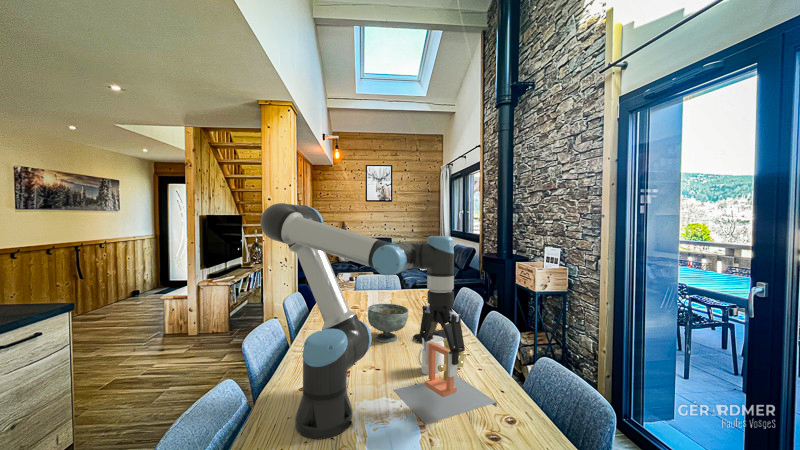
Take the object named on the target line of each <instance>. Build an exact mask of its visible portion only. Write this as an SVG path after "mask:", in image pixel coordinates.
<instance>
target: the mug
mask: <svg viewBox="0 0 800 450" xmlns="http://www.w3.org/2000/svg"><path fill="white" fill-rule="evenodd" d="M433 338H434V339H431V340H433V341H434V343H436V344H438V345H441V346H443V347H444V343H443V340H444V338H442V337H440V336H434V335H433ZM421 344H422V345H421V346H422V347H421V348H420V350H419V352H418V356H417V360H418V363H419V365H420V367H421V373H422V374H423V375H426V376H429V364H428V365H426V364H425V349H424V340H423V339H422V343H421ZM421 356H422V357H421ZM439 365H444V355H443V354H441V353H439V352H437V351H435V375H437V374H440V373H444V371H442V372H440V371H438V366H439Z"/></svg>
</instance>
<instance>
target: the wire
mask: <svg viewBox="0 0 800 450" xmlns="http://www.w3.org/2000/svg"><path fill="white" fill-rule="evenodd" d="M443 343H444V347H445V348H447V349H450V348H449V345H448V342H447V338H444V340H443ZM454 348H455V346H454ZM466 357H467V354H466V352H464V351H463V352H459V363H458V364H457V369H458V368H462V367H463V366H464V363H465V360H466ZM438 371H440V373H443V375H439V376H438V377H439V378H441V379H443V380H445V381H446V355H444V365H439V366H438ZM442 371H444V372H442Z"/></svg>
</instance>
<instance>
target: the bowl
mask: <svg viewBox="0 0 800 450" xmlns="http://www.w3.org/2000/svg"><path fill="white" fill-rule="evenodd" d="M367 309H368V310H367V322H368V323H369V325H370V326H371V327H372V328H374V329H375V330H377V331H380V332H382V333H379V334H377V335H376V337H375V340H376V341H377V342H379V343H387V344H388V343H391V342H392V343H393V342H396V341H397V339H398V336H397V335H396V334H395V333H393V332H398V331H400V330H402V329H403V328H404V327H406V325H407V322H408V319H409V309H408V308H407V307H405V306H403V305H400V304H396V303H395V304H394V303H375V304H372V305H370V306H368V308H367Z"/></svg>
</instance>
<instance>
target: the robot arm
mask: <svg viewBox="0 0 800 450" xmlns="http://www.w3.org/2000/svg"><path fill="white" fill-rule="evenodd" d="M260 229H261V230H262V233H263V234H264V235H265V236H266V237H268V238H269V239H270V240H272V241H276V242H279V243H283V244H284V245H287V246H288V249H289V251H291V252H292V253H293V252H294V253H295V254H296V256H297V258H298V260H299V263H300V265H301V268H302V270H303V273H304V276H305V278H306V280H307V283H308V286H309V288H310V291H311V292H312V295H313V297H314V300H315V303H316V305H317V307H318V310H319V312H320V315H321V317H322V318H321V319H323V326H322V328H321V330H317V331H315V332H312V333H311V334H310V335H308V336H307V338H305V341H304V343H303V351H302V396H301V399H300V403H299V404H298V409H297V412H296V415H295V429H296V431H297V432H298V434H300V435H302V436H304V438H305V437H306V438H308V439H309V438H310V439H327V438H331V437H334V436H337V435H340V434H342V433H343V432H345V431H346V430H348V428H350V426H351V424H352V422H353V421H352V420H353V419H352V418H353V408H352V404H351V401H350V398H349V397H350V396H349V394H348V392H347V379H348V377H347V373H348V370H349V369H350V368H352V367H353V366H354V365H355V364H356V363H357V362H358V361H360V360H361V359H362V358H364V357H365V355H366V354H367V353H368V351H369V350H370V348H371V346H372V332H371V329H370V328H369V326H368V325H367V324H366V323H365V322H363V321H362V320H360V319H359V316H358V314H357V313H356V312H354V311H353V310H352V311H351V309H350V308H349V305H348V303H347V301H346V299H345V296H344V293H343V291H342V288H341V287H340V284H339V281H338V280H337V277H336V275H335V271H334V269H333V267H332V265H331V262H330V260H329V258H328V255H327V254H329V255H332V256H336V257H339V258H342V259H345V260H347V261H351V262H353V263H357V264H360V265H363V266H367V267H370V268H372V269H375V271H376V272H378V274H380V275H382V276H395V275H398V274H400V273H401V272H403V271H406V270H408V269H424V270H427V276H426V278H427V279H426V280H427V281H426V282H427V283H426V286H427V287H426V288H427V289H428V291H427V292H426V293H427V295H426V296H427V300H426V301H427V304H426V305H422V307H421V310H422V316H421V323H420V329H419V333H420V334H419V333H418V334H419V335H420V337H422V338H423V340H424V349H425V364H426V365H428V364H429V343H430V342H434V341H433V340H431V339H434V338H433V335H434V332H435V331H436V329H437V326H438V324H440V327H441V329H444V332H445V335H446V338H447V342H448V345H449V348H450V351H451V352H448V377H453V376H455V375H457V376H458V368H457V364H458V363H459V359H460V356H459V352H464V351H465V350H466V348H465V343H464V342H465V341H464V336H463V329H462V323H461V320H462V314H461V313H455V312H454V311H453V305H454V303H455V292H454V290H455V289H454V288H455V286H454V285H455V282H454V281H455V273H454V272H455V251H454V249H455V248H454V247H455V246H454V239H453V237H452V236H448V235H446V236H445V235H444V236H443V235H437V236H436V235H431V236H428V237H427V240H426V242H403V241H396V242H387V241H385V240H381V239H377V238H374V237H371V236H367V235H364V234H360V233H357V232H353V231H350V230H347V229H344V228H340V227H336V226H333V225H329V224H326V223H324V219H323V217H322V215H321V213H320V212H319V210H317V209H316V208H314V207H311V206H308V205H304V204H290V203H285V202H283V203H282V202H281V203H280V202H279V203H275V204H272V205H270V206H268V207H267V208H265V209H264V211H263V212H262V215H261V217H260ZM454 347H455V348H454Z"/></svg>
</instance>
